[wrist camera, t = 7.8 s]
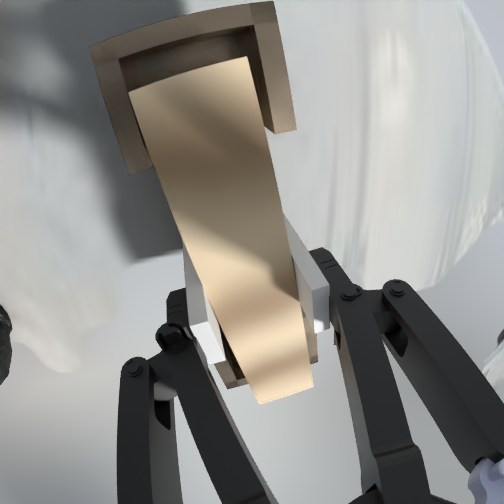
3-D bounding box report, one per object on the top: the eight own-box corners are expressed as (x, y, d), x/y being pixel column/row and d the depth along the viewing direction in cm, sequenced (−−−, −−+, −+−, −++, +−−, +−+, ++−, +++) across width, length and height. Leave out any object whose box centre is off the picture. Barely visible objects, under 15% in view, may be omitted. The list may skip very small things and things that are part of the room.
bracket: (124, 50, 17) (81, 38, 9) (233, 21, 18) (276, -10, 9) (209, 305, 32) (226, 392, 23) (283, 283, 32) (320, 364, 24)
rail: (145, 86, 13) (128, 92, 8) (226, 61, 13) (247, 56, 9) (245, 352, 24) (259, 404, 20) (292, 336, 24) (313, 386, 20)
